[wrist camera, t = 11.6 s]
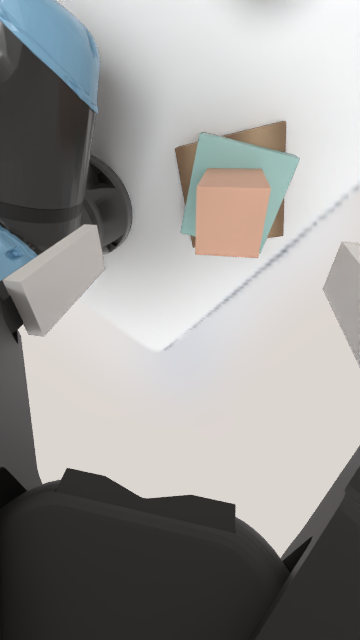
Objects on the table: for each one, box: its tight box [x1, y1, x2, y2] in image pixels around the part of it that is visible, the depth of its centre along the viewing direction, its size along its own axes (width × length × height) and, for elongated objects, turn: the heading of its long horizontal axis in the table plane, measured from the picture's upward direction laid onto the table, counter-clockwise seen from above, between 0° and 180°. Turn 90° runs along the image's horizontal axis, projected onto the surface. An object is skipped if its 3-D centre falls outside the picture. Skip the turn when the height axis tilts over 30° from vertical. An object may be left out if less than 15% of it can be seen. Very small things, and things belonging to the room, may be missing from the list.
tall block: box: [195, 168, 271, 258], centre depth 27 cm, size 6×6×10 cm
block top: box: [181, 132, 300, 254], centre depth 32 cm, size 11×11×4 cm
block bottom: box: [175, 121, 286, 247], centre depth 36 cm, size 13×13×4 cm
